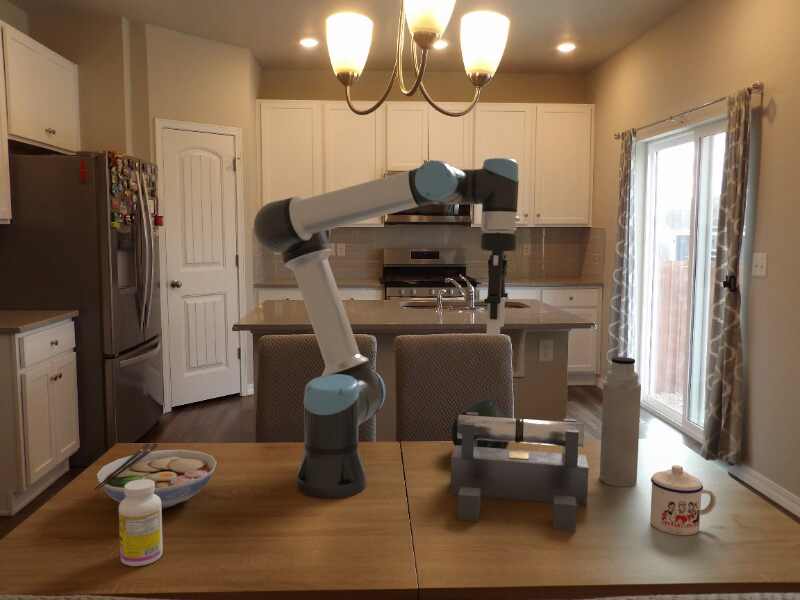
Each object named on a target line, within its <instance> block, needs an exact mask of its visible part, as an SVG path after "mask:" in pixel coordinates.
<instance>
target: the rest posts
mask: <svg viewBox="0 0 800 600" xmlns="http://www.w3.org/2000/svg"><path fill="white" fill-rule="evenodd" d="M481 499H482V496H481V489H479V488H468V487H460V490H459V493H458V494H457V520H459V521H467V522H468V521H469V522H477V521H480V516H481V502H482V501H481ZM552 506H553V509H552V512H553V513H552V524H553V525H552V526H553V527H552V529H553V530H560V531H566V532H567V531H568V532H576V530H577V529H576V528H577V507H578V505H576V499H575V497H570V496H558V495H554V503H552Z"/></svg>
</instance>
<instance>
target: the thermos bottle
mask: <svg viewBox="0 0 800 600" xmlns="http://www.w3.org/2000/svg"><path fill="white" fill-rule="evenodd" d="M635 363H636V359H635V358H632V357H626V356H615V357H612V358H611V365H610V366H611V369H610V370H608V371H607V372H606V376H605V377H606V380H604V381H603V385H602V387H603V388H602V408H601V430H600V433H601V435H600V437H601V439H600V459H599V461H600V462H599V479H600V481H602V482H603V483H604V484H607V485H610V486H615V487H621V488H622V487H627V488H628V487H633V486H636V484H637V481H638V463H639V438H640V416H641V396H642V384H641V383H640V382H639V378H640V377H639V373H637V372H636V371H635Z"/></svg>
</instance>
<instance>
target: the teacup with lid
mask: <svg viewBox="0 0 800 600" xmlns="http://www.w3.org/2000/svg"><path fill="white" fill-rule="evenodd" d="M650 482H651V495H650V496H651V498H650V518H649V519H650V520H649V521H650V523H651V524H652V526H653V527H654V528H655V529H657V530H659V531H661V532H663V533H667V534H671V535H675V536H693V535H695V534H697V533H698V532H699V531H700V525H701V524H700V523H701V522H700V521H701V516H705V515H709V513H711V512H712V511H713V510H714V508H715V506H716V503H717V498H716V495H715V493H714V492H713V491H712V490H710V489H708V488H704V485H703V482H702V481H701V480H700V478H698V477H696V476H695V475H692V474H689V473H688V472H686V471H684V468H683V466H681V465H680V464H679V465H677V464H673V465H672V466H671V468H670V469H666V470H663V471H662V470H661V471H658V472H655V473H653V474H652V476H651V478H650ZM702 494H708V495H709V496H710V500H709V503H708V505H707V506H706V507H705V508H703V509H701V507H702V504H701V503H702Z"/></svg>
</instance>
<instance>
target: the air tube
mask: <svg viewBox="0 0 800 600" xmlns="http://www.w3.org/2000/svg"><path fill="white" fill-rule="evenodd" d="M458 415H459V414H458ZM463 422H470V423H475V437H474V440H488V441H501V442H509V443H516V444H531V445H543V446H544V445H545V446H559V447H563V446H565V429H573V430H578V431H579V439H578V448H584V445H585V443H584V442H585V426H584V422H576V423H575V422H564V421H559V420H558V421H556V420H555V421H554V420H542V419H541V420H540V419H527V418H526V419H525V418H513V417H505V418H499V417H484V416H468V415H459V417H458V425H457V437H458V438H460V439H462V423H463Z"/></svg>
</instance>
